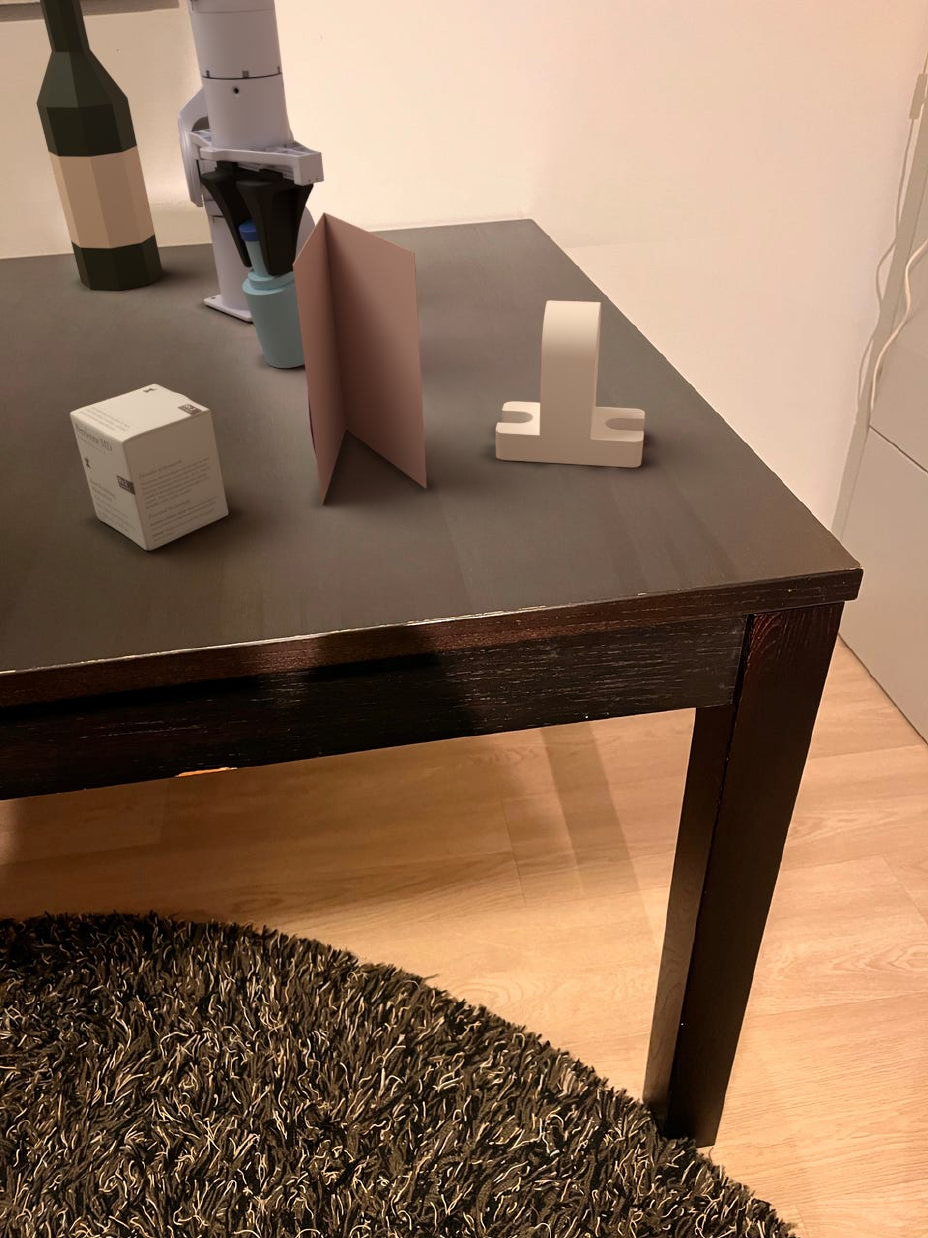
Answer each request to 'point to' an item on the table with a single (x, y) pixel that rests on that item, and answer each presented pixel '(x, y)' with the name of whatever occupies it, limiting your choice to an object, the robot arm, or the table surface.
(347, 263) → the greeting card
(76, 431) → the product carton
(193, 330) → the table surface
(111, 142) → the wine bottle
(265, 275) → the bottle
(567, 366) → the white mounting bracket
